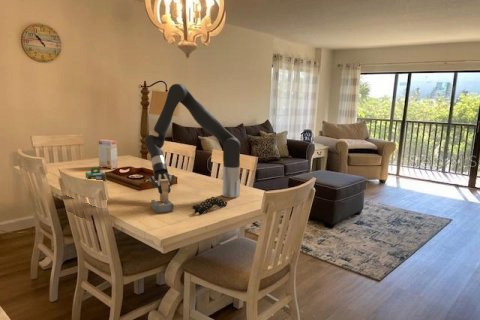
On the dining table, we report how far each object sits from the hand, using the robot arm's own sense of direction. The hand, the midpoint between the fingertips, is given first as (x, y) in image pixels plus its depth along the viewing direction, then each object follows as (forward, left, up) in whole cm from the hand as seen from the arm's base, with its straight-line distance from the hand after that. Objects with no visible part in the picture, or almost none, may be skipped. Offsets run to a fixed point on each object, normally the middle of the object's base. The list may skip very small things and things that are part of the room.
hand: (165, 192), depth 184 cm
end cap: (-5, +11, -5) cm, 13 cm away
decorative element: (-26, +1, -6) cm, 27 cm away
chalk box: (+44, +1, -5) cm, 44 cm away
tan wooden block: (+1, -1, -5) cm, 5 cm away
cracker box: (+84, -59, -5) cm, 103 cm away
